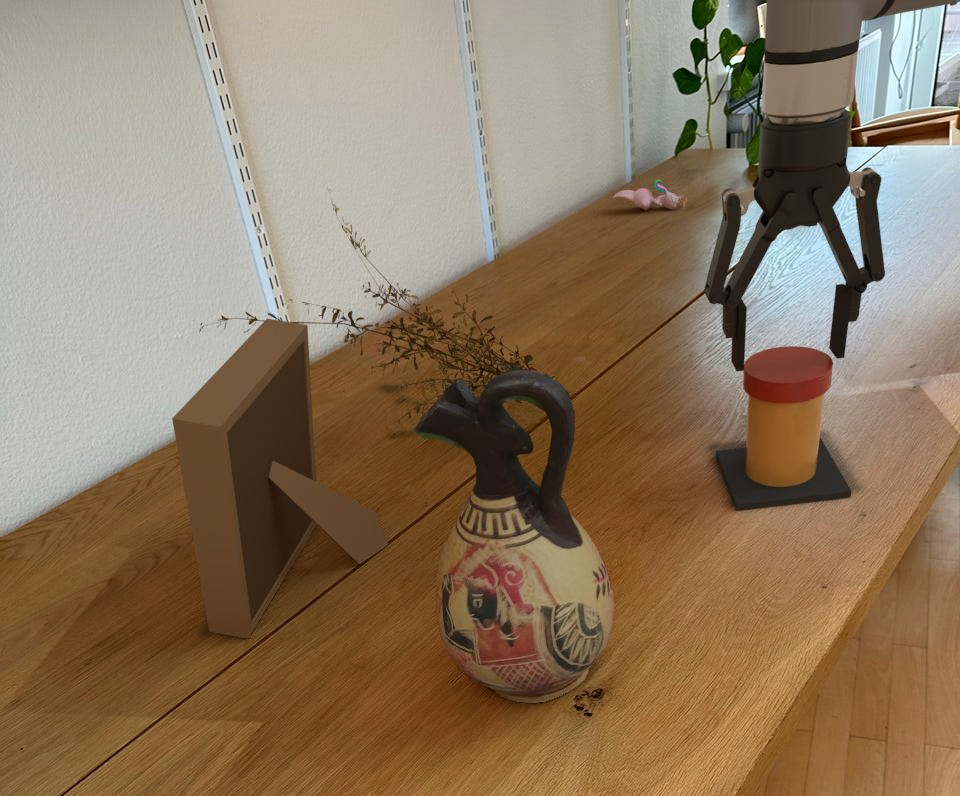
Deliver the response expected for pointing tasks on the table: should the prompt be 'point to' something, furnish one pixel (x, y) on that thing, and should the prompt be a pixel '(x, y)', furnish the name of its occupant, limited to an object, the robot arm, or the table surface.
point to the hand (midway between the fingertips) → (786, 359)
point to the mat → (756, 495)
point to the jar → (782, 441)
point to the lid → (787, 374)
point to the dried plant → (426, 341)
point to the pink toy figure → (645, 197)
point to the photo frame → (259, 478)
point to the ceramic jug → (517, 549)
